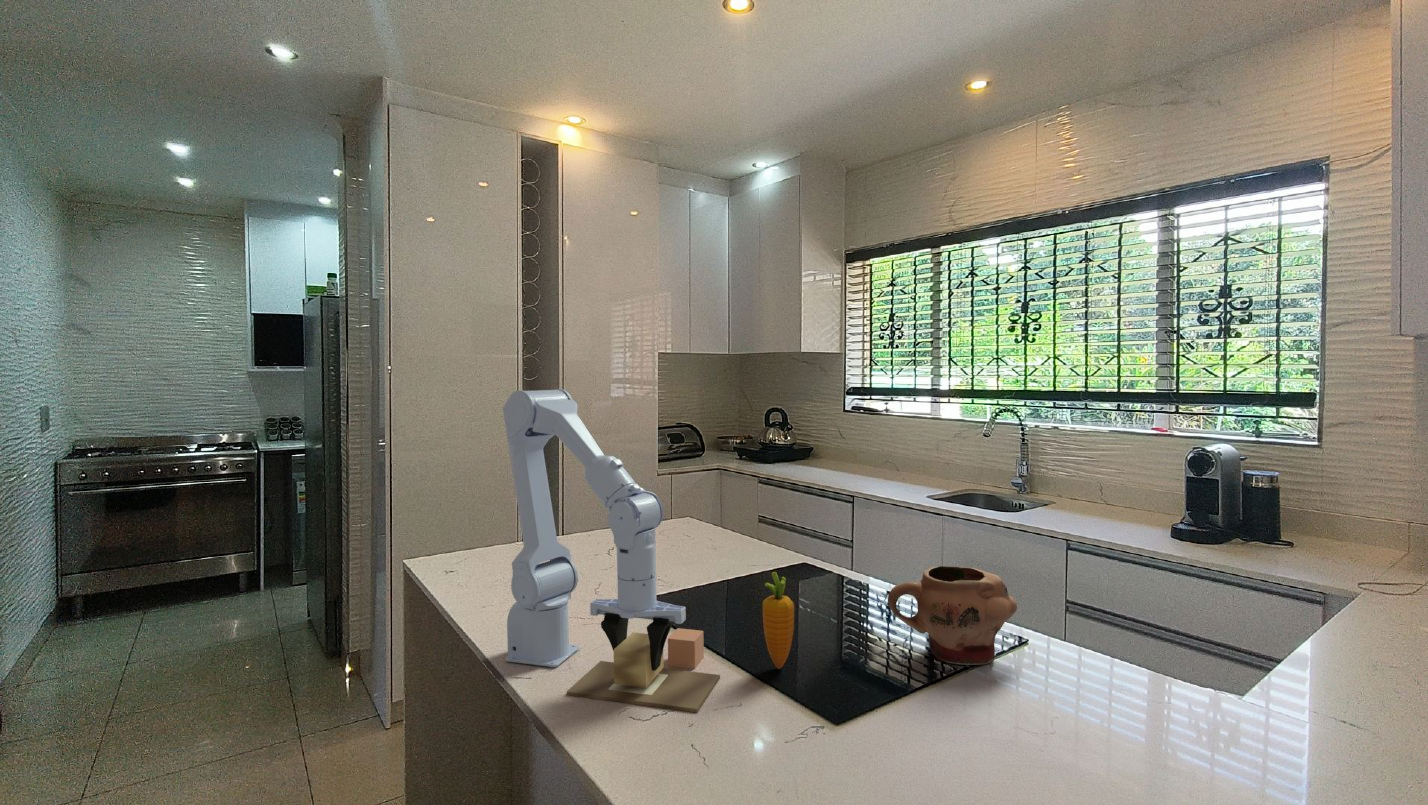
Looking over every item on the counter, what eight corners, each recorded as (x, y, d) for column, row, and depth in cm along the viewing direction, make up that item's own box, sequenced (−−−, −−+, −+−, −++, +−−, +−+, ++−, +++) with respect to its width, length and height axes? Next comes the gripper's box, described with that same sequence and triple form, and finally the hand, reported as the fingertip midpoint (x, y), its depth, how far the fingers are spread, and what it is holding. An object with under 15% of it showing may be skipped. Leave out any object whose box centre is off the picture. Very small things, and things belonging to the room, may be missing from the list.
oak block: (614, 683, 100) (613, 649, 99) (633, 664, 106) (632, 632, 106) (646, 687, 98) (645, 653, 98) (663, 667, 105) (663, 635, 105)
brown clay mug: (898, 672, 105) (898, 583, 105) (881, 641, 117) (880, 561, 117) (1030, 672, 105) (1030, 582, 104) (998, 641, 117) (998, 560, 116)
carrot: (793, 677, 104) (792, 579, 103) (761, 674, 105) (759, 578, 104) (796, 663, 109) (795, 570, 108) (765, 661, 110) (764, 569, 109)
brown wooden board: (566, 694, 99) (566, 691, 99) (600, 663, 110) (600, 660, 110) (697, 712, 94) (697, 708, 94) (720, 678, 104) (719, 674, 104)
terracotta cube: (668, 666, 109) (667, 638, 109) (677, 654, 113) (677, 628, 113) (694, 669, 108) (694, 641, 107) (703, 657, 112) (703, 630, 112)
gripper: (579, 579, 100) (581, 671, 100) (673, 587, 95) (675, 682, 96) (601, 566, 106) (603, 652, 107) (689, 573, 102) (691, 662, 103)
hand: (638, 665), depth 102 cm, fingers closed on oak block, 5 cm apart
